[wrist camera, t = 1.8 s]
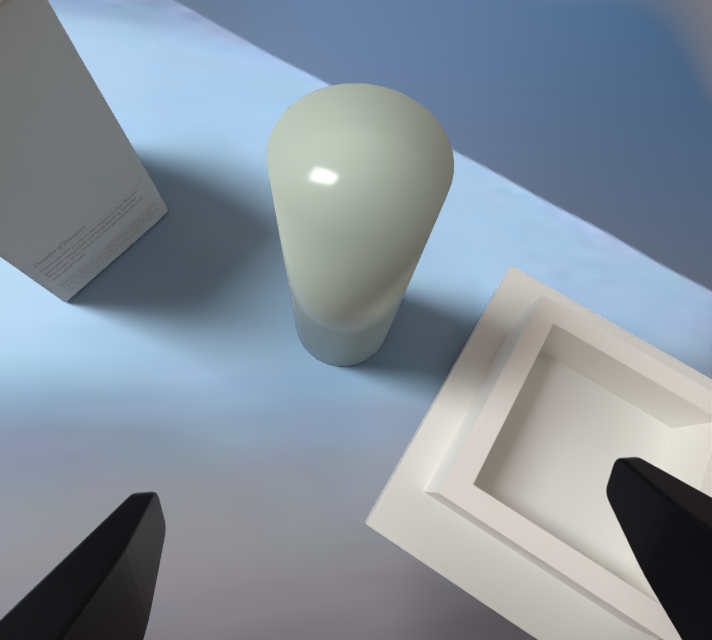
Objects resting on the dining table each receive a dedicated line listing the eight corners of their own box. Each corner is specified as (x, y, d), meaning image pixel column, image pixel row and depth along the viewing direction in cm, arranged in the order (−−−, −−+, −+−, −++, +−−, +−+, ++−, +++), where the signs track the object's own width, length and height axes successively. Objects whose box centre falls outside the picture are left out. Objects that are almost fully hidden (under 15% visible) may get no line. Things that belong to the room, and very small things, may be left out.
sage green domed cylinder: (404, 339, 24) (489, 192, 12) (322, 383, 23) (321, 271, 11) (360, 265, 25) (394, 61, 13) (280, 302, 24) (235, 120, 12)
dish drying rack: (878, 484, 23) (1091, 486, 17) (812, 824, 18) (1073, 1007, 12) (505, 272, 26) (566, 202, 19) (364, 522, 21) (382, 540, 15)
